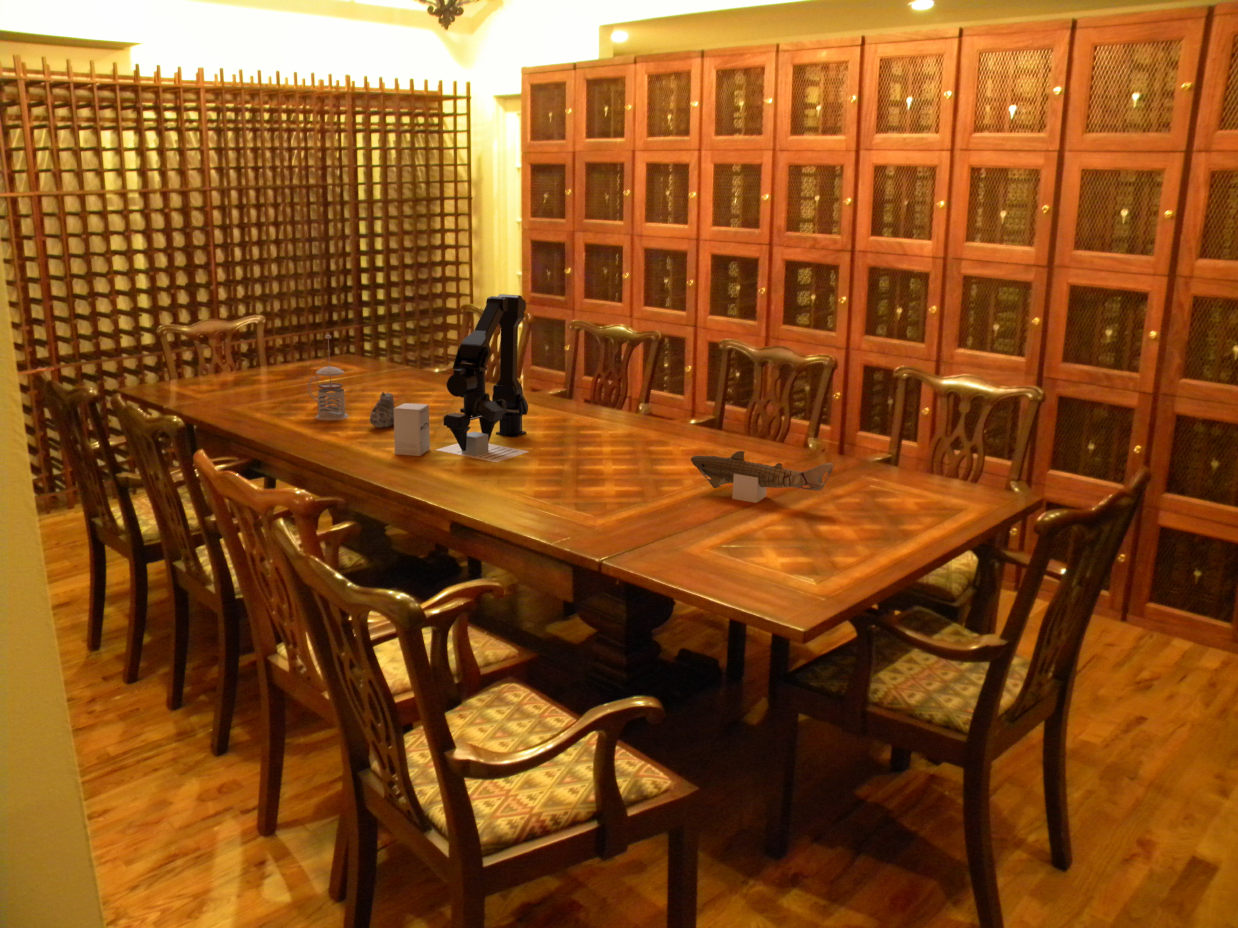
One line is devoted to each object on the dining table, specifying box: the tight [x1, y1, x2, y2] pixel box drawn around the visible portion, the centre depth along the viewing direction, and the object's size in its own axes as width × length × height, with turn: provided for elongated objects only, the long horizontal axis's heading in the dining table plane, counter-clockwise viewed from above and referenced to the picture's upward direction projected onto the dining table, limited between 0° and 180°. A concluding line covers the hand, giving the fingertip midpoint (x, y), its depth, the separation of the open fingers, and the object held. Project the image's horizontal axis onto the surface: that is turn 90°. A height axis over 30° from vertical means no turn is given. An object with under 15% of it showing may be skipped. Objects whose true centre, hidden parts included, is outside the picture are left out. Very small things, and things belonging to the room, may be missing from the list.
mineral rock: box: [369, 391, 395, 428], centre depth 311 cm, size 13×11×10 cm
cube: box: [462, 431, 489, 456], centre depth 283 cm, size 5×5×5 cm
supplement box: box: [393, 403, 431, 457], centre depth 282 cm, size 7×7×13 cm
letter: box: [436, 442, 530, 463], centre depth 286 cm, size 14×21×1 cm, turn 57°
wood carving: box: [690, 450, 834, 503], centre depth 248 cm, size 9×35×11 cm, turn 61°
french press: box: [307, 334, 349, 421], centre depth 318 cm, size 10×12×25 cm
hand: (475, 447), depth 283 cm, fingers open, 9 cm apart
